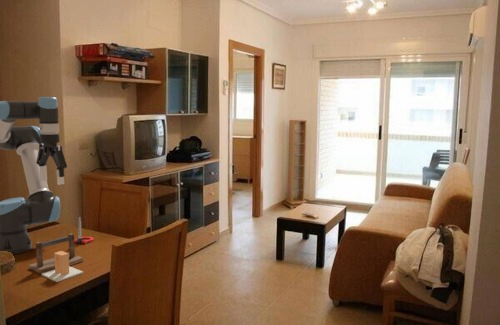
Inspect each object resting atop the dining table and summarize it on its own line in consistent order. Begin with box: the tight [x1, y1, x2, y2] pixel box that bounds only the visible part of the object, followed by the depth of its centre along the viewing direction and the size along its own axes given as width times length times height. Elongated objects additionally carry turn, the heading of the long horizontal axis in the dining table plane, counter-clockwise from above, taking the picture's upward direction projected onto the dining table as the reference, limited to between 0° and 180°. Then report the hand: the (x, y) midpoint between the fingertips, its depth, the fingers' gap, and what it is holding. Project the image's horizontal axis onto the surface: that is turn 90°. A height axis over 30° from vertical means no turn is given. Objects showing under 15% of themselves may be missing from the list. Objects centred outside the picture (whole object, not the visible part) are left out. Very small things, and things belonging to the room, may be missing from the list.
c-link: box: [53, 250, 69, 275], centre depth 170 cm, size 5×3×8 cm, turn 54°
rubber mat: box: [41, 265, 84, 283], centre depth 170 cm, size 11×11×1 cm
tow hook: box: [74, 216, 95, 245], centre depth 211 cm, size 8×13×9 cm
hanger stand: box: [28, 232, 84, 275], centre depth 179 cm, size 10×18×12 cm, turn 144°
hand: (52, 182), depth 187 cm, fingers open, 13 cm apart
